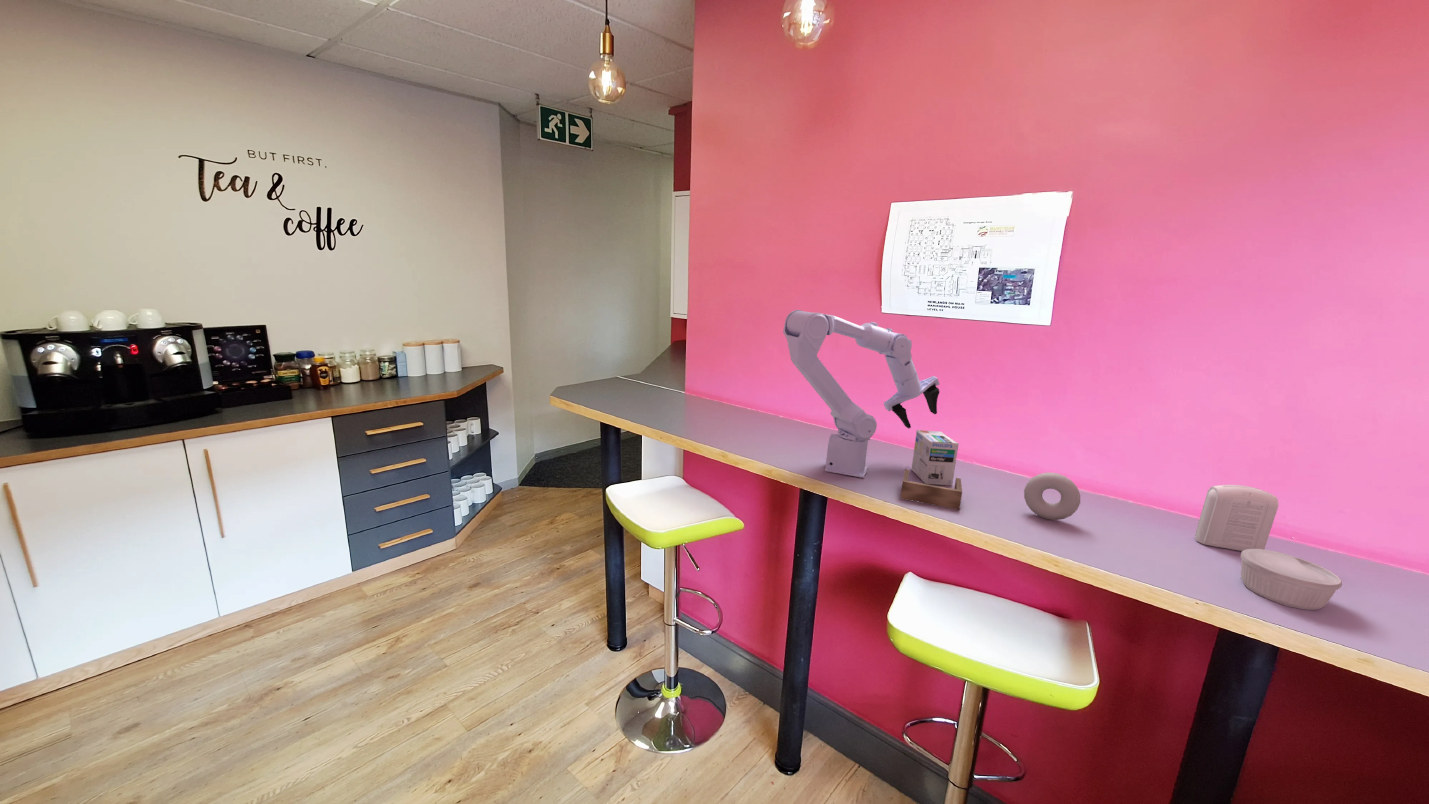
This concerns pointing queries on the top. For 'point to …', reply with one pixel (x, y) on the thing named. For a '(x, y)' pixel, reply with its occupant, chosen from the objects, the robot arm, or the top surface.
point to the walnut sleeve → (932, 493)
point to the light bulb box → (934, 457)
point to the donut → (1048, 510)
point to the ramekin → (1288, 579)
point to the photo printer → (1236, 517)
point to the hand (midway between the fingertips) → (920, 419)
